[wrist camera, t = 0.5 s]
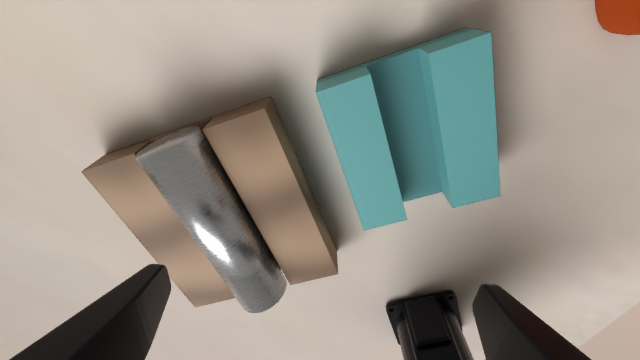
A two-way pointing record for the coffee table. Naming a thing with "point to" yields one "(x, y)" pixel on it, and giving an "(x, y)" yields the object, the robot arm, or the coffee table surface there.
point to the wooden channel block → (252, 188)
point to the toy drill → (619, 16)
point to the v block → (416, 125)
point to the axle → (214, 216)
